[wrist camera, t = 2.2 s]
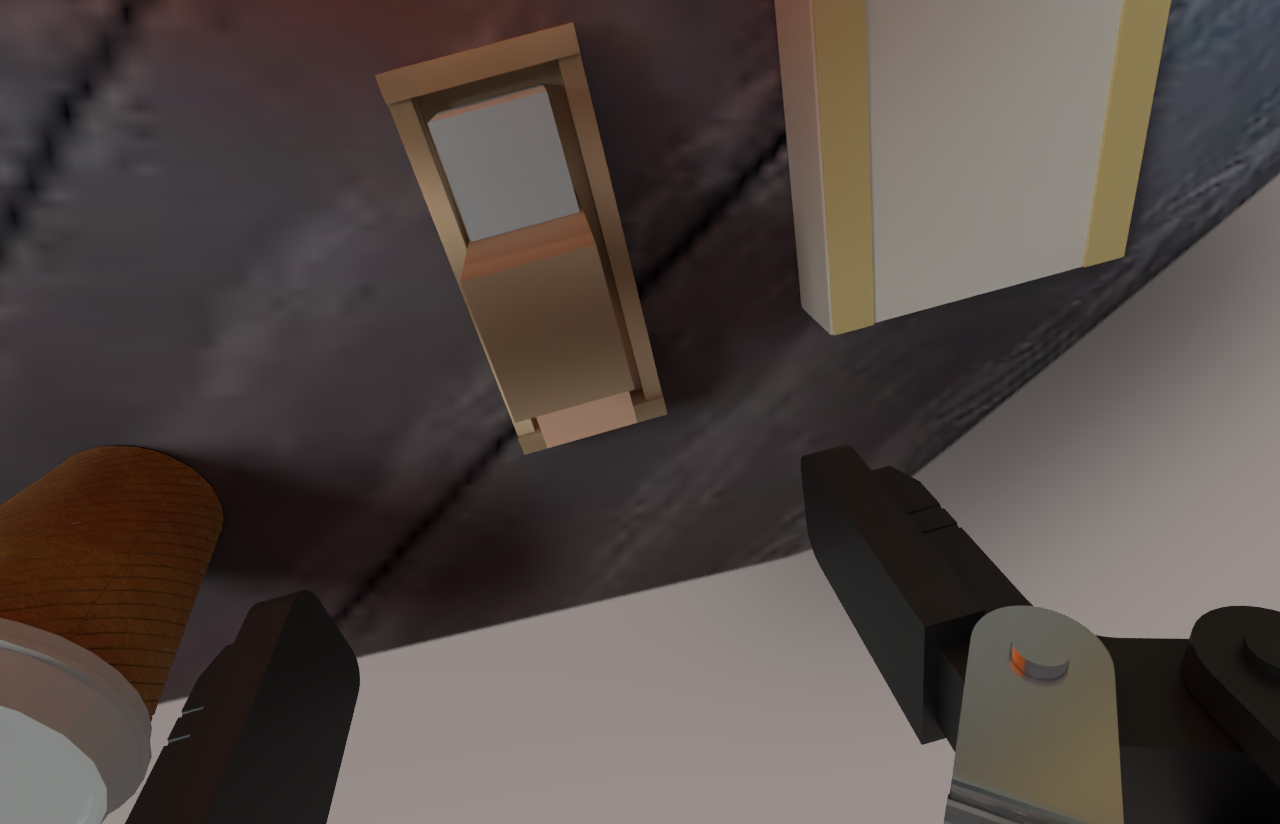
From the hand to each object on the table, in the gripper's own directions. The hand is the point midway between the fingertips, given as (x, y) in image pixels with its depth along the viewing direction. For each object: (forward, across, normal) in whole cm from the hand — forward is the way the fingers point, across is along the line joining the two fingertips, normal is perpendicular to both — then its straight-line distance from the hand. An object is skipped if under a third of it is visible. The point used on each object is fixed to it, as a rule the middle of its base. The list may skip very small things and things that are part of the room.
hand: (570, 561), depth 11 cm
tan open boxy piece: (+17, 0, 0) cm, 17 cm away
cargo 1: (+16, 0, -4) cm, 16 cm away
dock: (+17, -16, -1) cm, 23 cm away
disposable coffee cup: (+17, +19, +6) cm, 26 cm away
